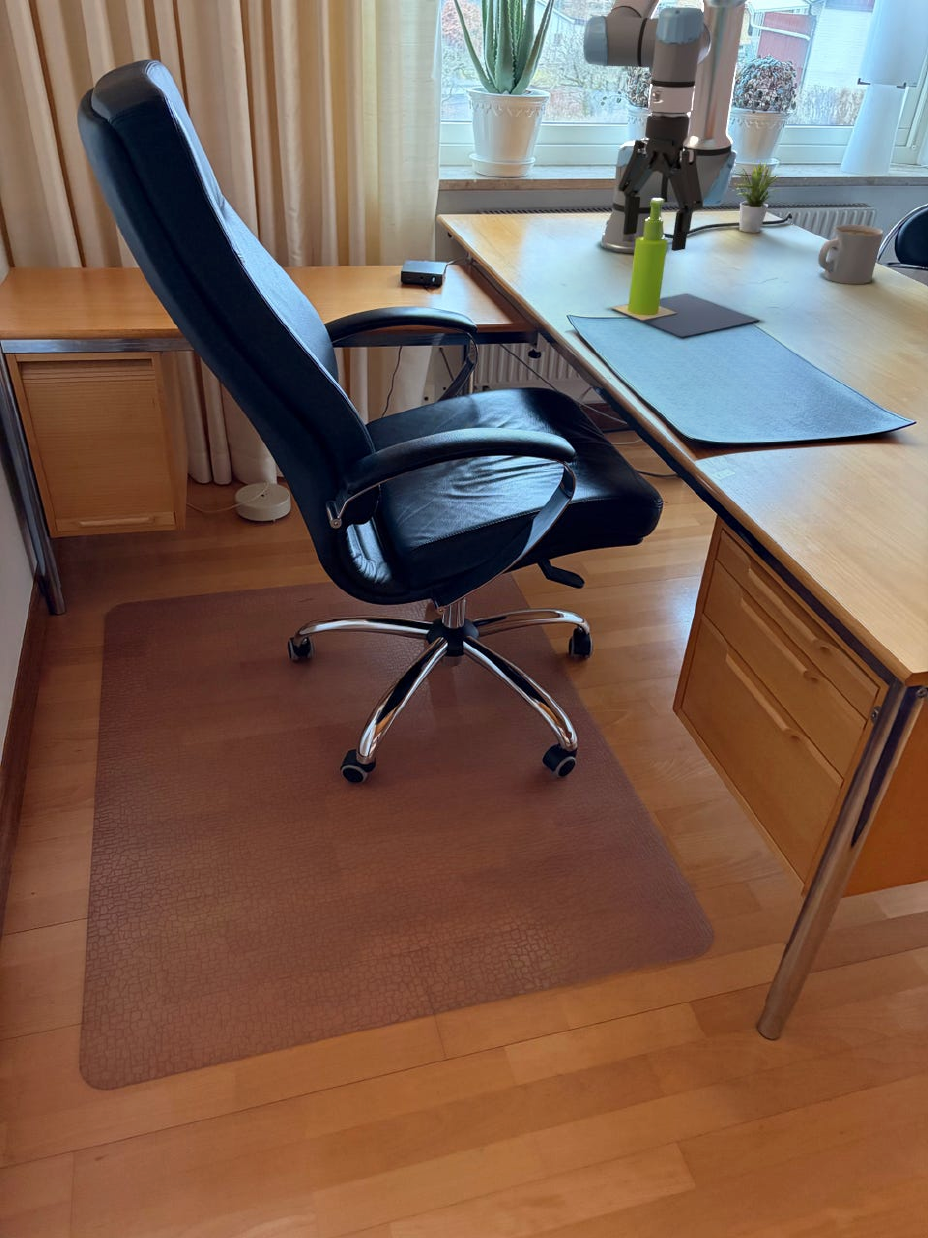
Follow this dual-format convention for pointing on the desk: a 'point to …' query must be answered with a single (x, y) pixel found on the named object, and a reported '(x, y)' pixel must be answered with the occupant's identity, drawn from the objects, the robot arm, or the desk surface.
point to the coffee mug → (851, 254)
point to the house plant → (754, 200)
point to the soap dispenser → (648, 265)
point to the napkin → (689, 316)
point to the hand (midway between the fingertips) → (653, 241)
